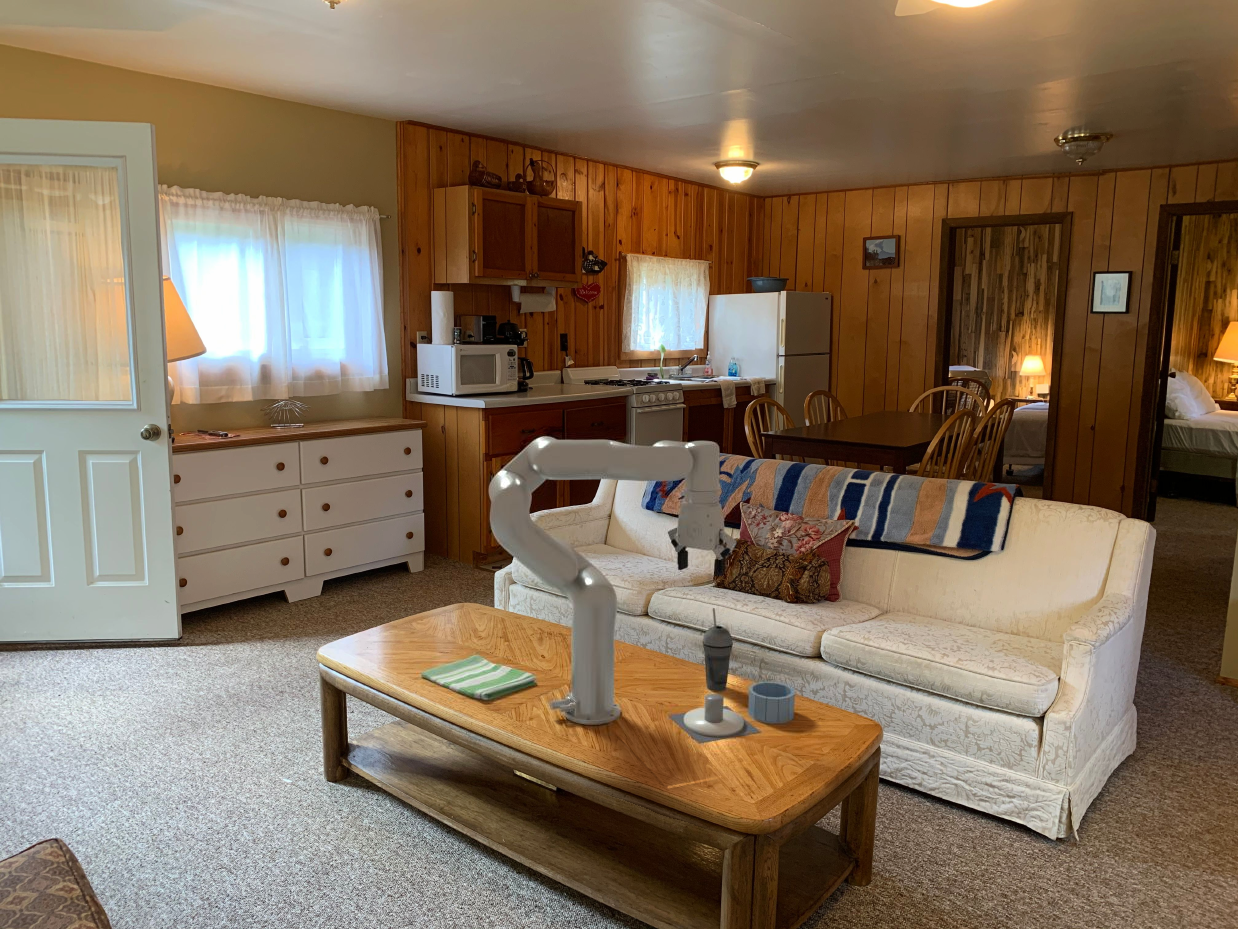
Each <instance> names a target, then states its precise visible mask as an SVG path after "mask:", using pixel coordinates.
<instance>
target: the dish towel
mask: <svg viewBox="0 0 1238 929" xmlns="http://www.w3.org/2000/svg"><path fill="white" fill-rule="evenodd" d="M420 676H421V678H423V679H425V680H428V681H431V682H433V683H434V684H437V685H439V686H442V687H443V688H445V689H449V690H451V691H453V692H456V693H458V694H461V695H464V696H467V697H470V698H472V699H479V700H482V701H490V700H492V699H493V700H494V699H496V698H499V697H502V696H505V695H508V694H510V693H514V692H516V691H520V690H523V689H525V688H529V687H531V686H535V685H537V684H538V683H537V681H536V680H537V677H536V676H535V675H533V674H532V673H530V672H527V671H523V670H522V669H521V670H520V669H517V668H515V667H509V666H504V665H503V664H499V663H493V662H491V661H489V660H487V659H485V658H484V657H482V655H479V654H473V655H471V656H469V657H467V658H465V659H461V660H456V661H454V662H449V663H447V664H444V665H439V666H435V667H432V668H429V669H428V670H424V671H423V672H422V673H421V675H420Z"/></svg>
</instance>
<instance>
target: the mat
mask: <svg viewBox="0 0 1238 929" xmlns="http://www.w3.org/2000/svg"><path fill="white" fill-rule="evenodd" d="M723 709H727V710H731V711H733V712H735V711H734V710H733V709H732V708H731V707H729V706H727V705H725V706H724V705H723ZM686 713H687V712H681V713H675V714H668V715H667V717H668V718H670V720H672V721H673V722H674V723H675V724H676V725H677V726H678V727H679V728H681V729H682V730H683V731H684V732H685V733H687V735H689V737H691V738H692V739H693V740H694V741H695V742H697V743H698V744H702V743H703V744H704V743H709V742H714V741H715V742H716V741H721V740H726V739H732V738H736V737H737V738H738V737H742V736H743V737H744V736H748V735H753V734H754V735H755V734H760V733H762V731H761V730H759V729H758V728H757V727H755V726H754V725H753V724H751V723H750V721H747V720H746V719H745V718H744V717H742V718H743V719H744V727H743V729H742V730H741V731H740V732H738V733H736V734H733V735H729V736H706V735H701V734H697V733H695V732H692V731H690V730H689V729H687V728H686V727H685V725H684V716H685V714H686Z"/></svg>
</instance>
